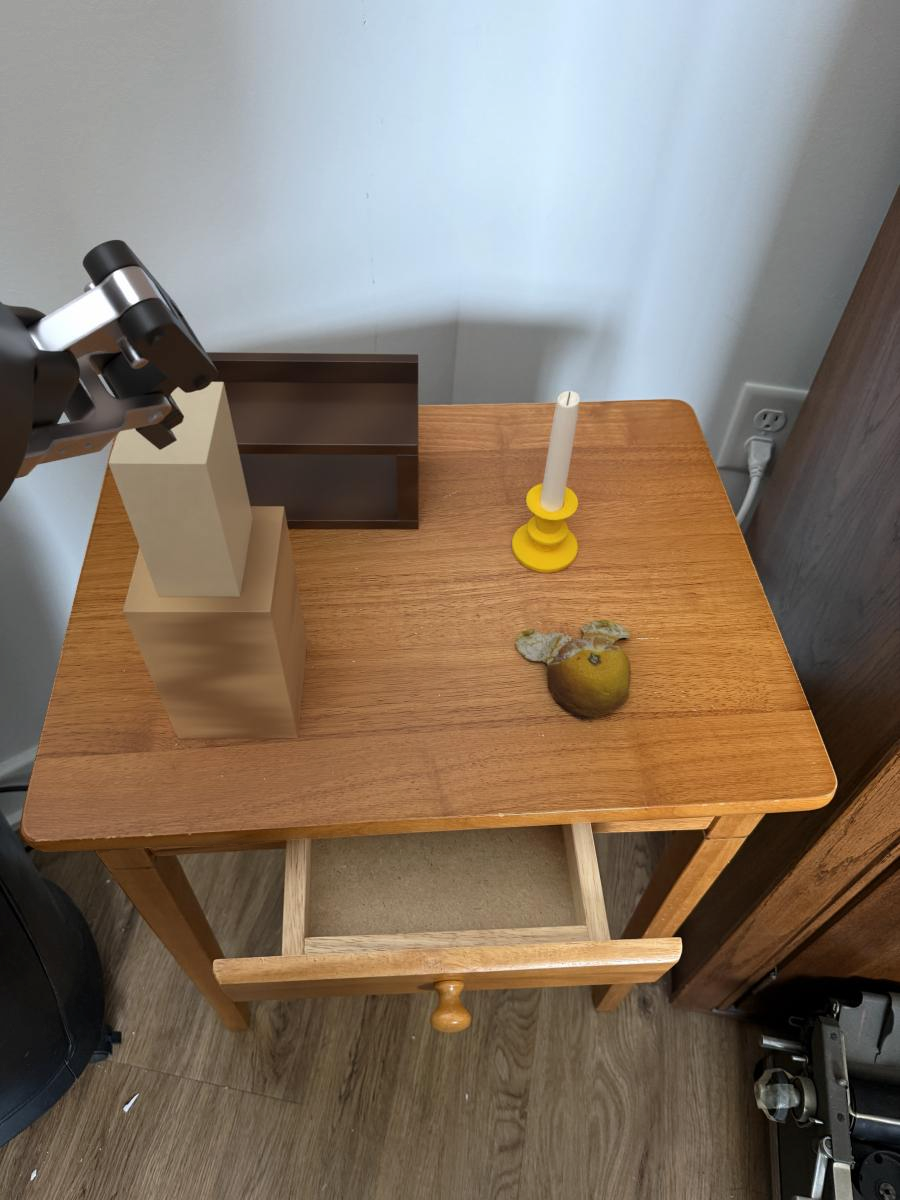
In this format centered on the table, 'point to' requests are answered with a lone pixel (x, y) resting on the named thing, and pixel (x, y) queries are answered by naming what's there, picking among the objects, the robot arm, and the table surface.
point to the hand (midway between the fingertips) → (48, 483)
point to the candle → (552, 500)
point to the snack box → (188, 499)
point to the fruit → (583, 667)
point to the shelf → (327, 435)
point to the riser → (228, 644)
